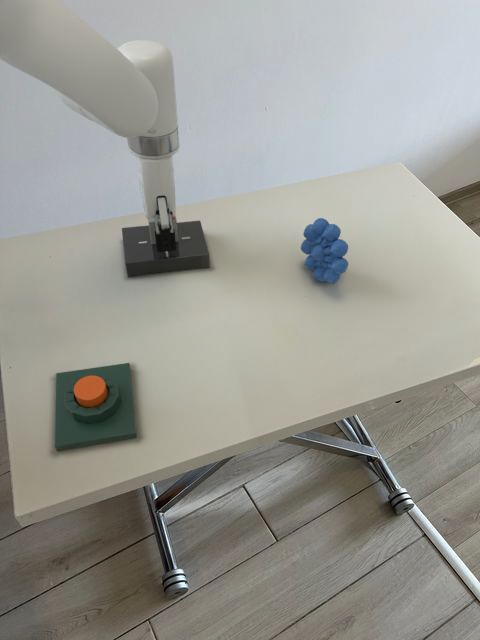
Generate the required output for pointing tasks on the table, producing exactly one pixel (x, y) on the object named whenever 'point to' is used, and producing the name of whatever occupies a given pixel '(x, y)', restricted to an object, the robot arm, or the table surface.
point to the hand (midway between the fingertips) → (164, 236)
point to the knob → (152, 223)
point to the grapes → (324, 251)
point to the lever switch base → (149, 261)
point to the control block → (94, 409)
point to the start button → (90, 391)
